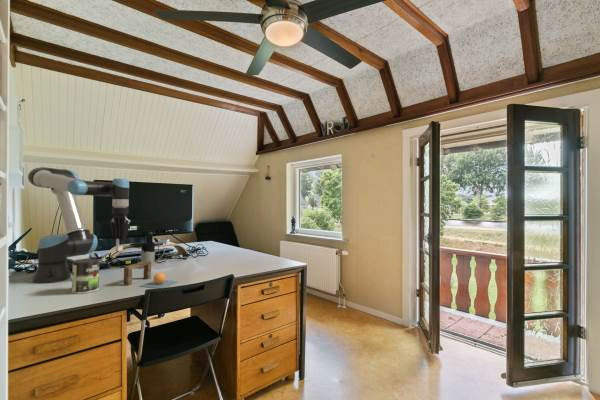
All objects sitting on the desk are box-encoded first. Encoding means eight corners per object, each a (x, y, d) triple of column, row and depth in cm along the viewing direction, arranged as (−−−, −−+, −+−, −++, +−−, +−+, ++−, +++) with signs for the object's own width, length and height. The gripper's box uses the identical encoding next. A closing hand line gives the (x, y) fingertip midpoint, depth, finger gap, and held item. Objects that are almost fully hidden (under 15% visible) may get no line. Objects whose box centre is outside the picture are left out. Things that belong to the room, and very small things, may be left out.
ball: (160, 284, 142) (152, 286, 143) (168, 281, 147) (160, 283, 149) (158, 273, 142) (149, 275, 144) (166, 271, 148) (158, 273, 149)
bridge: (123, 284, 143) (123, 266, 143) (146, 277, 157) (146, 261, 157) (128, 285, 142) (128, 267, 142) (150, 278, 156) (151, 261, 156)
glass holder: (140, 266, 184) (141, 243, 185) (164, 264, 190) (165, 242, 191) (139, 269, 176) (139, 245, 177) (164, 267, 182) (165, 244, 183)
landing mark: (139, 286, 141) (139, 285, 141) (158, 279, 154) (158, 279, 154) (160, 288, 137) (160, 288, 137) (178, 281, 150) (178, 281, 150)
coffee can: (104, 288, 137) (105, 259, 137) (84, 294, 127) (85, 263, 127) (86, 286, 139) (87, 257, 139) (65, 292, 129) (66, 261, 129)
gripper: (104, 206, 152) (103, 250, 151) (123, 207, 148) (122, 252, 148) (117, 206, 159) (116, 248, 159) (135, 207, 155) (134, 250, 155)
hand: (119, 250), depth 153 cm, fingers closed
